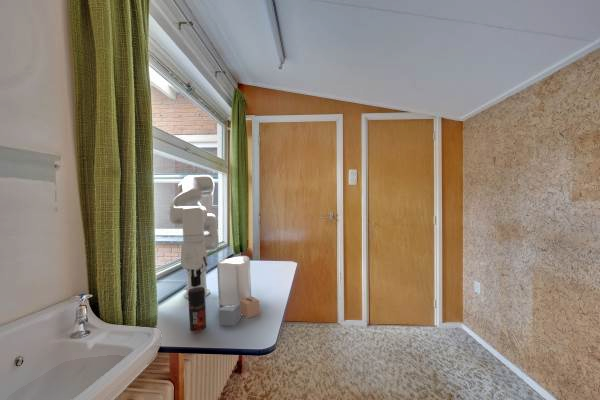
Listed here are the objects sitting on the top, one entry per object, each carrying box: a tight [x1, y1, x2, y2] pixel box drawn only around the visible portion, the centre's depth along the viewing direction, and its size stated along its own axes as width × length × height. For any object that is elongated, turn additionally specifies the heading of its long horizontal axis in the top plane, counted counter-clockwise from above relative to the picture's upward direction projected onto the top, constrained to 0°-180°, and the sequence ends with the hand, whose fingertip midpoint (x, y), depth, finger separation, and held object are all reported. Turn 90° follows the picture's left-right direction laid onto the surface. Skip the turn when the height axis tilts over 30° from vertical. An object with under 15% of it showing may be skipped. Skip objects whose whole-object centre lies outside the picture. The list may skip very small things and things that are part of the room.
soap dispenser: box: [216, 255, 252, 307], centre depth 126 cm, size 15×14×22 cm
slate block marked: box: [218, 304, 241, 327], centre depth 107 cm, size 6×6×6 cm
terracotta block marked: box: [240, 295, 261, 319], centre depth 114 cm, size 6×6×6 cm
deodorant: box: [188, 287, 207, 333], centre depth 103 cm, size 6×6×15 cm
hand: (196, 285), depth 103 cm, fingers closed
